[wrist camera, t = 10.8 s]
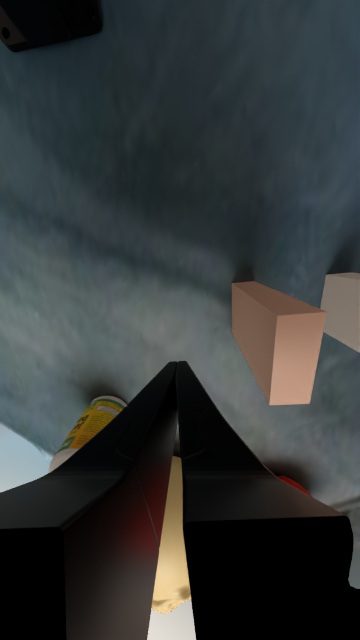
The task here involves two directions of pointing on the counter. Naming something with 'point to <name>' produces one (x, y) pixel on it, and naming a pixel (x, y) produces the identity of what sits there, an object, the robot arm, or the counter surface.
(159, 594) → the pale yellow round lump
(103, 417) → the supplement bottle
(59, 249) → the counter surface
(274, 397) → the domino
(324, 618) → the robot arm
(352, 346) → the domino
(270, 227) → the counter surface
